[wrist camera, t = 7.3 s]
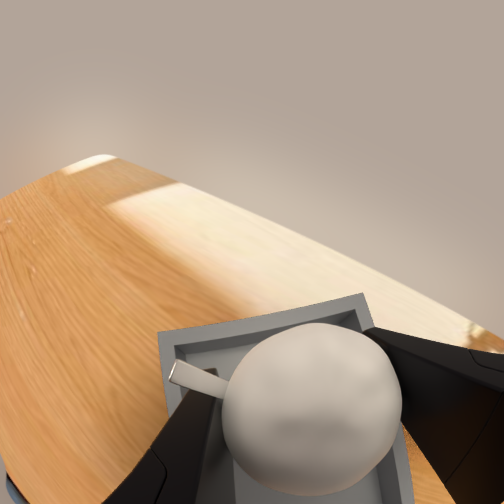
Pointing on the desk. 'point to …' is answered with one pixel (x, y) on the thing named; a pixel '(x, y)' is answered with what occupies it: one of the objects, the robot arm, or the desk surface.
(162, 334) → the tray
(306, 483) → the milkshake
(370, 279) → the desk surface
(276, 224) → the desk surface
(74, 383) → the desk surface
